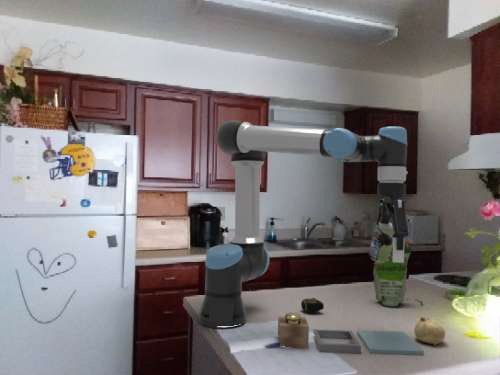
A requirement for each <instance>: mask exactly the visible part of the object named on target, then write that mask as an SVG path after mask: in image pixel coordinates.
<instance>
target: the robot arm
mask: <svg viewBox="0 0 500 375" xmlns="http://www.w3.org/2000/svg"><path fill="white" fill-rule="evenodd" d="M407 133H408V132H407V129H406V128H404V127H403V126H385V127H384V126H383V127H381V128H380V129H379V130H378V133H377V134H376V135H359V134H357V133H354V132H352V131H350V130H348V129H347V128H342V127H337V128H335V127H334V128H333V129H327V128H307V127H305V128H304V127H288V126H286V127H285V126H266V125H255V124H251V123H250V122H247V121H241V120H236V119H234V120H233V119H230V120H227V121H224V122H223V123H221V124H220V125H219V127H218V129H217V131H216V133H215V142H216V146H217V147H218V148H219V150H221V151H222V152H223V153H224V154H226V155H228V156H230V158H231V160H230V163H231V165H232V166H234V168H235V170H234V171H235V172H234V175H235V181H234V183H235V187H234V188H235V190H234V192H235V196H234V203H235V204H234V205H235V206H234V237H232V239H231V240H230V243H229V244H222V245H221V244H220V245H215V246H212V247H210V248H209V249H207V251H206V253H205V254H206V255H205V261H204V265H205V271H204V275H205V276H204V278H205V279H204V297H203V300H202V303H201V306H200V309H199V312H198V323H199V324H200V325H203V326H204V327H208V328H212V329H216V328H215V327H217V326H234V325H239V324H243V325H244V324H246V323H247V312H246V307H245V304H244V300H243V298H242V291H243V290H242V286H243V285H242V284H243V283H245V282H248V281H250V280H251V281H252V280H255V279H258V278H259V277H260V276H262V275H264V274H265V272H267V270H268V268H269V267H270V266H269V265H270V254H269V251H268V250H267V248H266V247H265V241H264V239H263V237H261V235H260V230H261V229H260V227H261V226H260V224H261V223H260V222H261V221H260V219H261V218H260V213H261V212H260V211H261V210H260V206H261V205H260V203H261V202H260V198H261V197H260V194H261V193H260V192H261V189H260V188H261V179H260V178H261V177H260V176H261V167H262V166H263V165H264V164H265V157H266V156H267V153H277V154H278V153H279V154H293V155H302V156H303V155H304V156H313V157H315V156H316V157H326V158H336V159H338V161H339V162H342V163H343V162H344V163H353V162H354V163H357V162H360V163H363V162H377V163H378V164H377V181H378V184H377V196H379V197H383V198H379V200H378V201H379V202H378V211H377V216H376V220H375V226H374V227H375V228H376V225H377V224H379V222H380V223H383V224H389V222H390V221H391V222H390V223H392V227H393V231H394V234H393V236H392V237H393V262H399V263H404V241H405V239H406V237H409V228H408V223H407V215H406V208H405V207H406V206H405V204H406V203H405V200H404V199H400V197H402V198H403V197H404V198H405V197H406V195H407V194H406V193H407V184H406V183H405V182H406V180H407V175H408V173H409V172H408V171H407V160H408V158H407V157H408V156H407V155H408V134H407ZM375 228H374V229H375Z"/></svg>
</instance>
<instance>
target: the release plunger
mask: <svg viewBox="0 0 500 375" xmlns="http://www.w3.org/2000/svg"><path fill="white" fill-rule="evenodd" d="M284 316H285V318H286V319H287V320H288V323H290V324H298V320H300V319H301V317H302V315H301V314H300V313H297V312H287V313H285V315H284Z"/></svg>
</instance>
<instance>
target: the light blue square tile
mask: <svg viewBox="0 0 500 375" xmlns="http://www.w3.org/2000/svg"><path fill="white" fill-rule="evenodd" d="M356 335H357V336H358V337H359V339H360V340H361V342H362V344H363V346H365V348H366V350H367V351H368V353H369V354H383V355H384V354H386V355H387V354H389V355H410V356H411V355H412V356H414V355H416V356H417V355H419V356H424V353H425V351H424V350H423V349H422V348H421V347H420V346H419V345H418V344H417V343H416V342H415V340H413V339H412V338H411V337H410V336H409V335H408V334H407V333H406V332H405V331H399V330H398V331H395V330H394V331H393V330H368V329H367V330H363V329H357V330H356Z"/></svg>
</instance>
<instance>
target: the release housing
mask: <svg viewBox="0 0 500 375" xmlns="http://www.w3.org/2000/svg"><path fill="white" fill-rule="evenodd" d="M277 318H278V320H277V336H278V335H279V342H278V344H279V343H280V345H281V346H285V347H292V348H291V349H304V348H308V349H309V336H310V335H309V333H310V332H309V331H310V329H309V328H310V326H309V322H308V321H307V317H306V316H301V319H300V320H298V324H290V323H288V320H287V319H286V318H285V315H284V316H282V315H281V316H280V315H278V317H277Z"/></svg>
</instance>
